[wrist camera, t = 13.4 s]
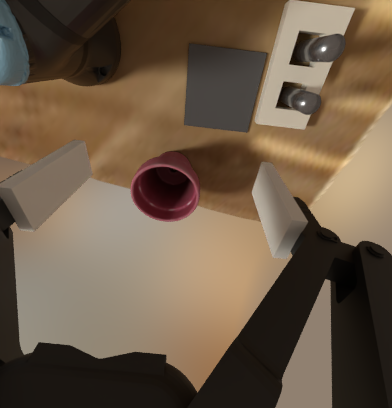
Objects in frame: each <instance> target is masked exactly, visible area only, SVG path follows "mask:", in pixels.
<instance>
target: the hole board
mask: <svg viewBox="0 0 392 408" xmlns="http://www.w3.org/2000/svg"><path fill="white" fill-rule="evenodd" d="M354 10H355V8H350V7H343V6H335V5H327V4H320V3H312V2H305V1H297V0H289V1H288V2H286V3H285V6H284V10H283V13H282V17H281V21H280V25H279V29H278V33H277V36H276V40H275V44H274V48H273V52H272V55H271V59H270V63H269V67H268V71H267V74H266V78H265V82H264V86H263V90H262V94H261V97H260V101H259V105H258V109H257V113H256V116H255V120H254V121H255V122H256V124H263V125H271V126H280V127H288V128H296V129H305V127H306V125H307V122H308V120H309V118H310V115H311V114H310V115H305V114H303V113H301V112H299V111H297V110H295V109H293V108H286V107H278V106H276V104H277V101H278V98H279V94H280V91H281V88H282V85H283V81H286V82H294V83H302V86H301V89H302V90H305V91H309V92H312V93H316V94H318V95H319V94H320V91H321V89H322V86H323V84H324V82H325V79H326V77H327V74H328V72H329V70H330V67H331V65H332V62H333V61H332V62H310V64H309V67H305V66H297V65H289V62H290V59H291V56H292V52H293V49H294V46H295V43H296V40H297V36H298V33H304V34H312V35H320V36H319V37H323V36H328V35H332V34H341V35H343V36H344V34H345V31H346V29H347V26H348V24H349V22H350V19H351V17H352V14H353V12H354Z"/></svg>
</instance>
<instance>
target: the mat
mask: <svg viewBox="0 0 392 408" xmlns="http://www.w3.org/2000/svg"><path fill="white" fill-rule="evenodd" d="M266 55H267V53H262V52H254V51H246V50H238V49H230V48H222V47H214V46H206V45H198V44H190V43H189V56H188V72H187V88H186V104H185V121H184V125H188V126H197V127H205V128H213V129H222V130H230V131H239V132H247V131H248V127H249V123H250V119H251V115H252V111H253V107H254V103H255V99H256V95H257V91H258V87H259V83H260V79H261V75H262V71H263V67H264V63H265V59H266Z"/></svg>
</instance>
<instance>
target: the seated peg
mask: <svg viewBox="0 0 392 408" xmlns="http://www.w3.org/2000/svg"><path fill="white" fill-rule="evenodd" d="M279 100H280V101H281V102H282V103H284V104H286V105H288V106H290V107H292V108H293V109H295V110H297V111H299V112H301V113H303V114H305V115H310V114H313V113H314V112H316V111H317V110H318V109H319V107H320V105H321V97H320V96H319V95H318V94H316V93H312V92H309V91H305V90H302V89H298V88H295V87H291V86H286V87H284V88H283V89H282V90H281V91H280V94H279Z"/></svg>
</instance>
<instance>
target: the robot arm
mask: <svg viewBox="0 0 392 408" xmlns="http://www.w3.org/2000/svg"><path fill="white" fill-rule="evenodd" d="M130 1H131V0H0V85H9V86H20V85H21V84H25V83H32V82H40V81H47V80H54V79H64V80H66V81H68V82H70V83H73V84H76V85H80V86H94V85H99V84H102V83H104V82H106V81H107V80H109V79H110V78H111V77H112V76H113V74H114V73H115V71H116V69H117V67H118V64H119V61H120V54H121V42H120V35H119V31H118V27H117V24H116V21H115V19H114V16H115V15H116V14H117V13H118V12H119V11H120V10H121V9H122V8H123V7H124V6H125V5H126V4H127V3H128V2H130ZM92 175H93V174H92V170H91V166H90V161H89V157H88V153H87V149H86V144H85V141H80V140H73V141H71V142H70V143H68V144H66V145H65V146H63V147H61V148H59V149H58V150H56V151H54V152H53V153H51V154H49V155H48V156H46V157H44V158H42V159H41V160H39V161H37V162H36V163H34V164H32V165H31V166H29V167H27V168H25V169H24V170H21V171H19V172H17V173H15V174H14V175H13V176H10V177H9V178H7V180H4V181H2V182H0V408H275V407H276V404H277V402H278V399H279V397H280V394H281V390H282V377H283V374H284V372H285V369H286V367H287V365H288V363H289V360H290V358H291V356H292V353H293V351H294V348H295V347H296V344H297V342H298V340H299V338H300V335H301V332H302V331H303V328H304V326H305V324H306V321H307V319H308V317H309V315H310V312H311V310H312V308H313V305H314V303H315V301H316V299H317V296H318V294H319V292H320V289H321V287H322V285H323V283H324V280H325V279H328V280H330V281H331V349H332V408H392V255H391V254H390V253H389V252H388V251H387V250H386V249H385V248H383V247H382V246H380V245H378V244H375V243H373V242H369V241H362V242H360V243H359V244H358V245H357V246H356V247H354V246H351V245H349V244H345V243H342V242H341V241H340V239H339V237H338V236H337V235H336V234H335V233H334V232H332V231H331V230H329V229H326V228H323V227H321V226H320V225H319V223H318V221H317V220H316V219H315V217H314V216H313V214H311V211H310V210H309V209H308V207H307V205H306V204H305V202H303V201H302V200H301V199H300V198H298V197H293V196H292V195H291V193H290V192H289V190H288V188H287V187H286V185H285V183H284V182H283V180H282V179H281V177H280V175H279V174H278V172H277V170H276V169H275V167H274V166H273V164H272V163H268V162H261V165H260V168H259V172H258V175H257V178H256V181H255V184H254V187H253V190H252V195H253V198H254V201H255V204H256V207H257V210H258V213H259V216H260V220H261V223H262V225H263V229H264V231H265V235H266V238H267V241H268V244H269V247H270V250H271V253H272V256H273V258H283V259H287V257H288V256H289V254H290V252H291V253H292V255H293V256H292V258H291V259H290V261H289V262H288V264H287V265H286V267H285V268H284V270H283V271H282V273H281V274H280V275H279V277H278V279H277V280H276V281H275V283H274V284H273V286H272V287H271V289H270V290H269V292H268V293H267V294H266V296H265V297H264V299H263V300H262V302H261V303H260V305H259V306H258V308H257V309H256V310H255V312H254V313H253V315H252V316H251V318H250V319H249V321H248V322H247V324H246V325H245V326H244V328H243V329H242V331H241V332H240V334H239V335H238V337H237V338H236V339H235V340H234V341H233V342H232V344H231V345H230V347H229V348H228V349H227V351H226V352H225V354H224V355H223V357H222V358H221V360H220V361H219V363H218V364H217V365H216V367H215V368H214V370H213V371H212V373H211V374H210V376H209V377H208V379H207V380H206V381H205V383H204V384H203V386H202V387H201V389H200V390H199V392H198V393H197V391H196V390H195V388H194V386H193V385H192V384H191V382H190V381H189V380H188V379H187V377H186V376H185V375H184V374H183V373H182V372H181V371H179V370H178V369H177V368H175V367H173V366H172V365H170V364H168V363H166V355H162V354H152V353H142V352H132V353H127V354H123V355H118V356H113V357H108V358H103V359H98V358H95V357H93V356H91V355H89V354H87V353H85V352H83V351H81V350H79V349H76V348H75V347H73V346H70V345H60V344H51V343H41V342H40V343H38V345H37V346H36V348H35V349H34V351H33V352H32V353H29V354H26V355H24V354H23V352H22V350H21V347H20V342H19V327H18V310H17V294H16V279H15V263H14V247H13V232H12V230H11V228H10V226H11V225H12V224H13V223H14V222H16V224H17V226H18V227H19V229H20V230H25V231H33V232H34V231H35V230H36V229H38V228H39V227H40V226H41V225H42V224H43V223H44V222H45V221H46V220H47V219H48V218H49V217H50V216H51V215H52V214H53V213H54V212H55V211H56V210H57V209H58V208H59V207H60V206H61V205H62V204H63V203H64V202H65V201H66V200H67V199H68V198H69V197H70V196H71V195H72V194H73V193H74V192H75V191H76V190H77V189H78V188H79V187H80V186H81V185H82V184H83V183H84V182H86V181H87V179H88V178H90V177H91V176H92Z"/></svg>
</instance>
